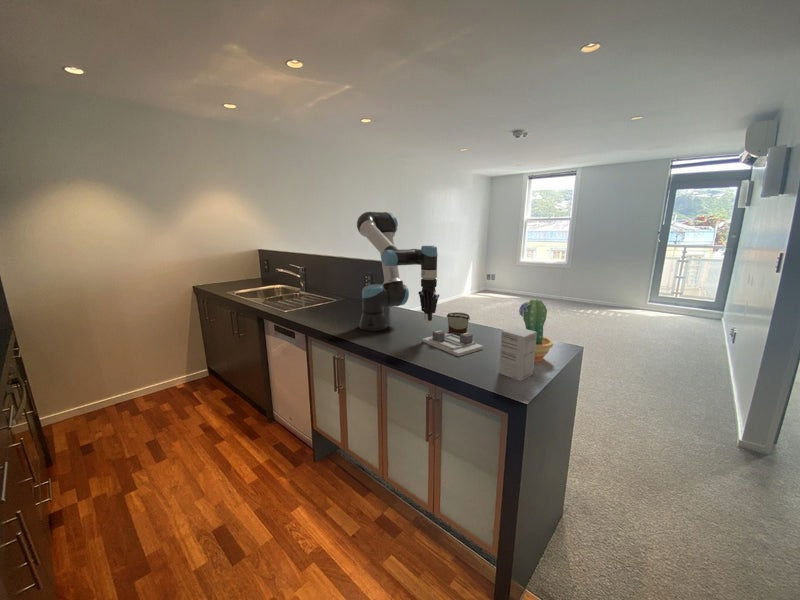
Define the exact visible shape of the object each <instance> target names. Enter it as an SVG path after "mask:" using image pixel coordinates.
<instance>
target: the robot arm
mask: <svg viewBox="0 0 800 600" xmlns="http://www.w3.org/2000/svg"><path fill="white" fill-rule="evenodd" d="M398 227H399V224H398V220H397V216H395V215H394V214H393V213H392V212H386V211H384V212H383V211H382V212H380V211H367V212H366V211H365V212H363V213H362V214H361V215H359V216H358V218H357V220H356V229H357V231H358V232H359V234H360V235H361V236H363V237H364V238H365V237H366V239H367V240H368V241H369V242H370V243H371V244H372V245H373V247H374V248H375V249H376V250H377V251H378V252H379V254H380V258H381V259H380V260H381V267H382V272H383V279H384V281H383V283H381V284H380V283H375V284H369V285H365V286H364V287H363V288H362V289H361V301H362V302H361V308H362V309H361V310H362V314H361V317H360V321H359V330H362V331H367V332H378V331H379V332H380V331H383V330H386V329H387V328H388V323H387V319H386V317H385V312H384V309H385V308H391V307H392V308H393V307H399V306H404V305H405V304H406V303H407V302H408V300H409V297H410V291H409V290H410V289H409V288H408V286H407V285H406V284H404V281H403V280H402V279H401V277H400V274H399V267H400V266H414V265H415V266H416V265H419V266H420V278H421V279H420V286H421V290H420V291H418V295H419V301H420V308H421V309H420V310H421V312H423V313H424V327H425V328H430V327H432V320H433V314H435V313H436V312H437V307H438V306H437V305H438V301H439V298H440V294H439V293H438V294H437V290H436V287H437V285H438V284H437V283H438V282H437V281H438V280H437V279H438V247H437V245H422V246H421V248H420V249H418V248H411V249H410V248H409V249H398V248H397V247H396V246H395V243H394V237H395V236H396V232H397V230H398ZM398 266H399V267H398Z"/></svg>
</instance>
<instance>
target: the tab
mask: <svg viewBox="0 0 800 600" xmlns="http://www.w3.org/2000/svg"><path fill="white" fill-rule="evenodd" d="M445 333H446V332H444V331H443V330H442V329H441V330H435V331H432V336H433V337H432V339H433V340H435V341H438V342H442V341H444V338H445Z"/></svg>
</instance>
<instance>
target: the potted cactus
mask: <svg viewBox="0 0 800 600" xmlns="http://www.w3.org/2000/svg"><path fill="white" fill-rule="evenodd" d="M518 312H519V315H520V316H521V317H522V319H523V323H524V325H525V329H527V330H531V331H535V332H537V337H536V348H535V359H534V363H537V362H543V361H544V359H545V358H544V357H545V356H546V355H548V354H549V351H550V349H551V348H553V346H554V340H553V339H551V338H549V337H547V336H544V325H545V322H546V321H547V320H546V319H547V314H548V310H547V307H546V305H545V303H544V302H543V301H542V299H540V300H539V299H538V298H537V299H533V298H532V299H530V300H529V301H526V302H523V303H522V304H521V305H520V306H519V310H518Z"/></svg>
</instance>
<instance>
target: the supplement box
mask: <svg viewBox="0 0 800 600" xmlns="http://www.w3.org/2000/svg"><path fill="white" fill-rule="evenodd" d="M536 337H537V332H535V331H531V330H527V329H526V328H523V327H519V326H513V327H510V328H507V329H504V330H502V331H501V337H500V338H501V339H500V349H499V350H500V352H499V364H498V365H499V367H498V368H499V369H498V374H500V375H502V376H506V377H508V378H511V379H513V380H517V381H519V382H521V381H524V380H525V379H527V378H529V377H531V376H532V375H534V369H535V368H534V367H535V362H534V359H535V348H536Z"/></svg>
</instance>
